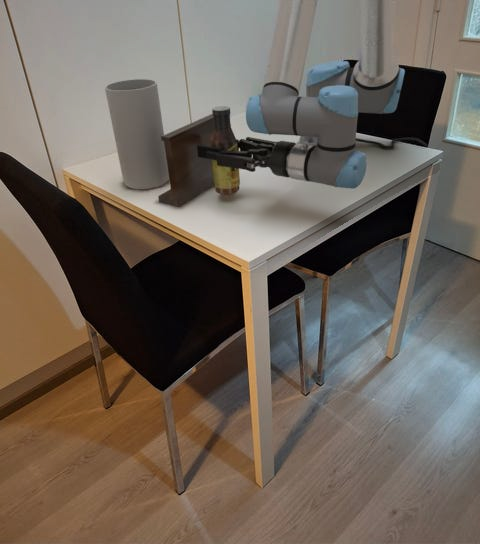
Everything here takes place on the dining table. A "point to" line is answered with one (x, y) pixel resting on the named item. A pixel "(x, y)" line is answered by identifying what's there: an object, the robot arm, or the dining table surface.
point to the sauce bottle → (224, 137)
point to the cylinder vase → (138, 132)
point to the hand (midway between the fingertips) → (207, 146)
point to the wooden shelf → (188, 162)
